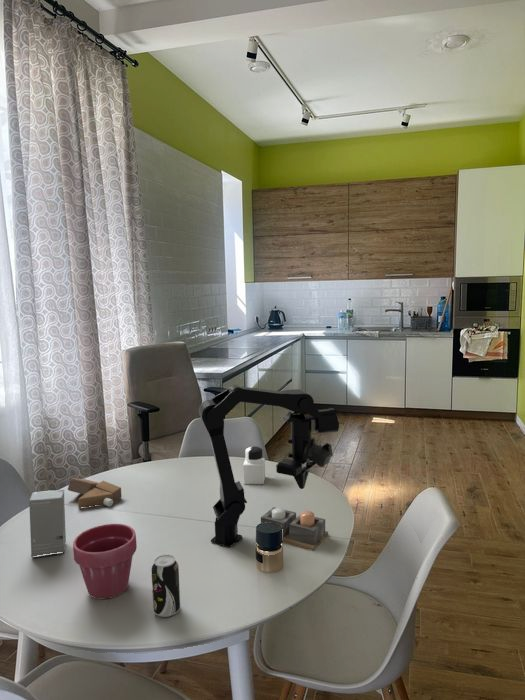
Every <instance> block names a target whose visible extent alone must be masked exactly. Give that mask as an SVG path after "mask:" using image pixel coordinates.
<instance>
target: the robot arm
mask: <svg viewBox="0 0 525 700" xmlns="http://www.w3.org/2000/svg"><path fill="white" fill-rule="evenodd" d="M239 403H247V404H248V403H249V404H256V405H263V406H264V405H265V406H272V407H280V408H283V409H286V410H289V411H288V412H287V413H286V414H285V415H284V416H283V417H282V418H283V420H284V421H286V422H287V423H290V438H289V439H288V440H287V443H288V444H291V445H290V449H291V450H290V452H289V453H288V458H291V459H288V458H284V459H282V460H281V461H279V462H278V463H277V464H276V465H275V470H276V473H277V474H281V475H286V476H290V477H293V479H294V480H295V482H296V484H297V486H298V487H299V490H304V489H305V486H306V484H307V480H308V479H307V478H308V476H309V473H310V470H311V469H312V468H313V467H314V466H316V465H317V466H318V467H320V468H324V467H325V466H326V465H327V464H329V462H330V460H331V457H333V455H334V454H333V449H332V447H333V446H332V445H331V444H330V443H328V442H326V443H324V444H323V445H322V444H319V445H318V444H316V439H315V437H312V431H314V432H315V434H316V435H321V434H322V435H323V434H332V433H338V431H339V429H340V422H339V418H338V415H337V414H336V413H337V411H336V410H337V409H335V408H334V407H328V408H326V409H325V408H324V409H318V408H317V407H316V406H315V401H314V398H313V396H312V395H310V394H309V393H307V392H306V391H304V390H302V389H300V388H299V389H296V388H295V389H285V390H272V389H271V390H270V389H263V388H255V387H249V386H248V387H247V386H241V385H238V384H233V385H231V386H230V387H228V388H227V389H226V390H224V391H223V392H220V393H219V394H216V395H215V396H213V397H212V398H211V399H207V400H204V401H203V402H201V403H200V405H199V407H198V414H199V417H200V419H201V421H202V423H203V425H204V428H205V429H206V432H207V434H208V437H209V441H210V444H211V449H212V452H213V458H214V461H215V464H216V469H217V470H216V471H217V474H218V478H219V497H220V498H219V499H218V501H216V503H214V505H213V506H212V509H213V511H214V514H215V521H214V537H212V538H211V539H210V542H211V543H213V544H217V545H220V546H224V547H227V548H231V547H232V546H234V545H235V544H236V543H237V542H238V541H239V540H241V539H243V535H241V534H239V533H238V529H239V528H238V523H239V519H240V517H241V515H242V514H243V513H244V511H245V510H246V504H247V503H248V502H247V499H246V498H245V489H244V487H243V485H242V483H241V482H240V480H239V481H236V480H235V477H234V473H233V468H232V463H231V460H230V456H229V451H228V447H227V444H226V440H225V439H226V438H225V435H224V434H225V433H224V432H225V417H226V416H227V415H229V413H231V411H232V410H233V409H234V408H235V407H236V406H237V405H238V404H239ZM292 412H295V413H292Z"/></svg>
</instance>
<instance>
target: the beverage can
mask: <svg viewBox="0 0 525 700" xmlns="http://www.w3.org/2000/svg"><path fill="white" fill-rule="evenodd" d="M179 571H180V570H179V563H178V561H177V560H176V557H175V556H174V555H171V554H162V555H159V556H157V557H156V558H155V559H154V560H153V564H152V566H151V583H152V588H151V589H152V603H153V605H152V606H153V607H152V608H153V612H154V614H155V615H157V616H158V617H162V618H168V617H169V618H170V617H172V616H174V615H175V614H177V613H178V612H179V611H180V610H181V593H180V592H181V591H180V572H179Z"/></svg>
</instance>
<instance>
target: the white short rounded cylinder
mask: <svg viewBox="0 0 525 700" xmlns="http://www.w3.org/2000/svg"><path fill="white" fill-rule="evenodd" d="M285 510H286V509H284V508H280V507H275V509H273V510H272V518H274V519H278V520H283V519H284V518H285Z"/></svg>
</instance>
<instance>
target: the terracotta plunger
mask: <svg viewBox="0 0 525 700" xmlns="http://www.w3.org/2000/svg"><path fill="white" fill-rule="evenodd" d="M299 515H300V524H301V525H303V526H307V527H311V528H312V527H313V526H314V517H315V513H314V512H313V511H311V510H304V511H301V512H300V514H299Z"/></svg>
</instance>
